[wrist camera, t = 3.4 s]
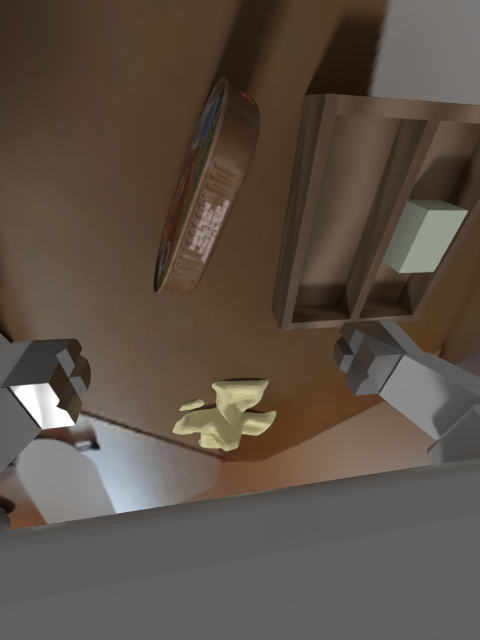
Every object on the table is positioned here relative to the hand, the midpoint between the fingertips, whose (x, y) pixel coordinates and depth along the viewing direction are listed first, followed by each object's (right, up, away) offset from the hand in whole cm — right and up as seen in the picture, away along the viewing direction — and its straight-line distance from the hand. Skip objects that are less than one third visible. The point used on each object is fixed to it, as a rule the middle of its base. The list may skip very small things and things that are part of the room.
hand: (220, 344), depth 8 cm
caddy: (+13, +10, +19) cm, 26 cm away
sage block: (+18, +10, +19) cm, 28 cm away
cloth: (-3, -16, +38) cm, 41 cm away
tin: (-3, +12, +15) cm, 19 cm away
